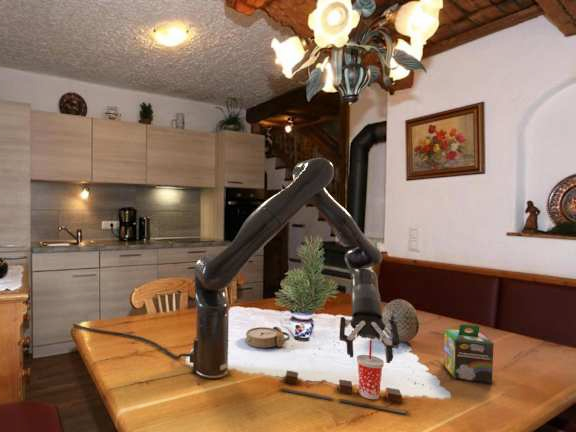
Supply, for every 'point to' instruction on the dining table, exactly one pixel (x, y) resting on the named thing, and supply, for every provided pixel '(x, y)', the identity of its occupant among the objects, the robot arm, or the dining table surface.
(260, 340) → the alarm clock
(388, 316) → the decorative egg
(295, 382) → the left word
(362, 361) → the beverage cup
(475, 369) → the chalk box
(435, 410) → the dining table surface
